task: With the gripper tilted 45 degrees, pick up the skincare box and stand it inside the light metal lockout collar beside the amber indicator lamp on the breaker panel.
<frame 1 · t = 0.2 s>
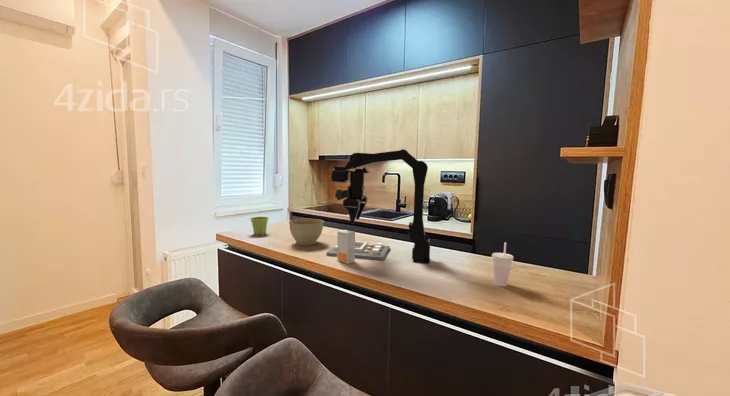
hand: (355, 221, 124), 15 cm above the worktop, tool pointing down, fingers open, 9 cm apart
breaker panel: (359, 251, 131), on the worktop
planter bowl: (306, 243, 144), on the worktop
skincare box: (345, 261, 118), on the worktop
smoothie: (500, 284, 97), on the worktop
plant pot: (259, 234, 162), on the worktop
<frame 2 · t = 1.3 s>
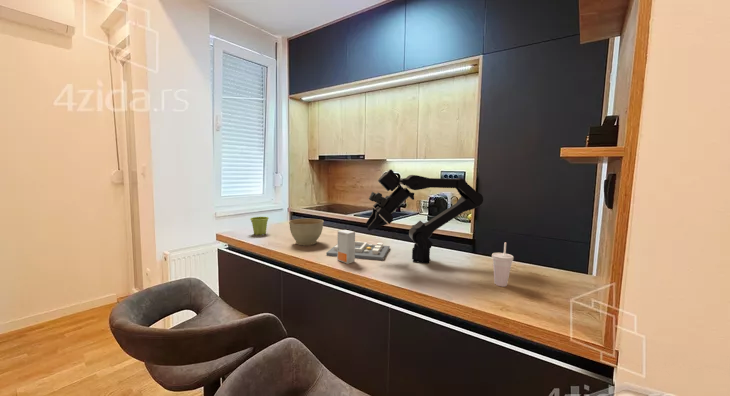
hand: (367, 227, 117), 14 cm above the worktop, tool tilted 45°, fingers open, 9 cm apart
nothing on the worktop moved.
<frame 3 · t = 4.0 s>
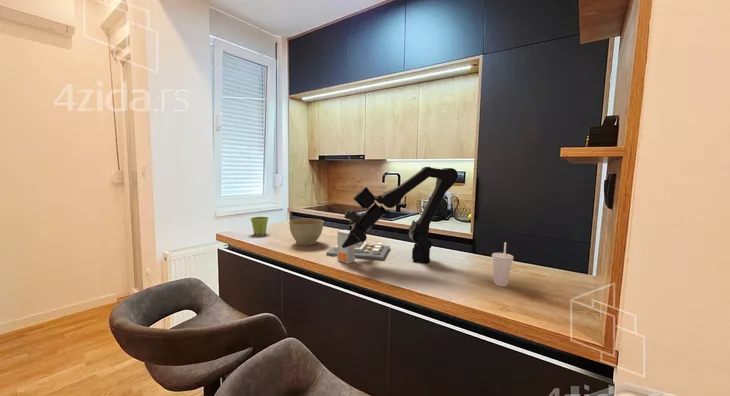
hand: (342, 244, 117), 7 cm above the worktop, tool tilted 45°, fingers closed on skincare box, 7 cm apart
skincare box: (345, 261, 118), on the worktop, touching gripper
everything else where it was.
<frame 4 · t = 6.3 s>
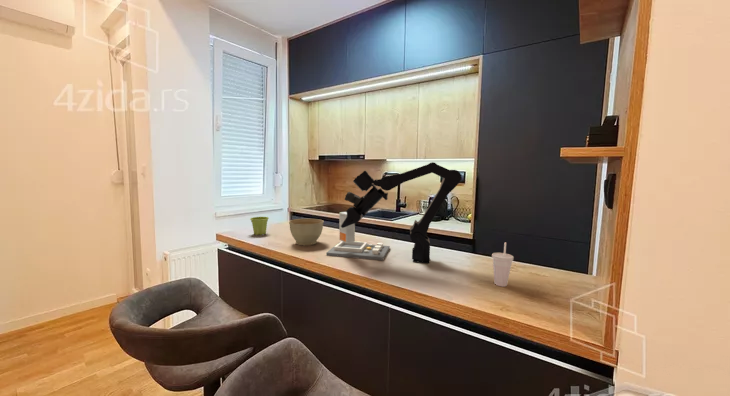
hand: (343, 225, 124), 13 cm above the worktop, tool tilted 45°, fingers closed on skincare box, 7 cm apart
skincare box: (347, 241, 124), point 6 cm above the worktop, touching gripper
everything else where it was.
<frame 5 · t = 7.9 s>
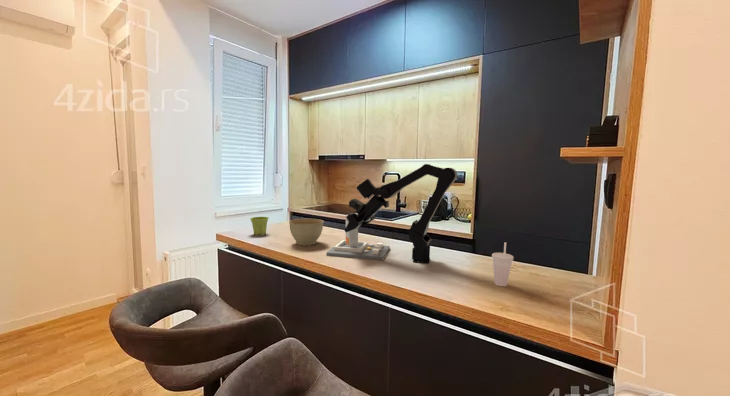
hand: (349, 230, 132), 9 cm above the worktop, tool tilted 45°, fingers closed on skincare box, 7 cm apart
skincare box: (351, 245, 132), point 2 cm above the worktop, touching gripper
everything else where it was.
when the fingers open (9 cm above the worktop, at t = 8.8 s): skincare box drops 1 cm, resting on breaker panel.
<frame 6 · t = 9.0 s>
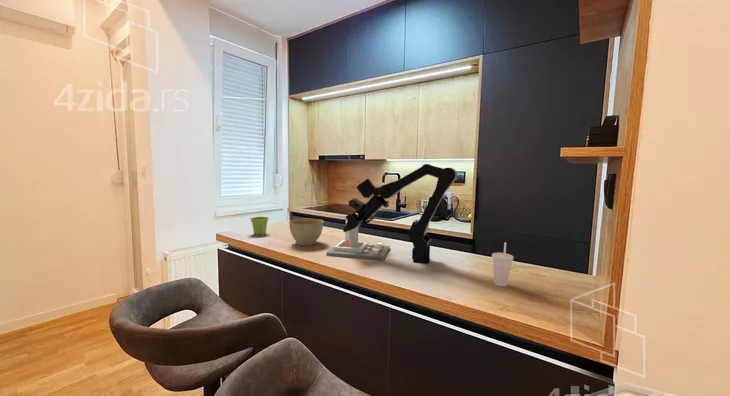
hand: (348, 229, 132), 9 cm above the worktop, tool tilted 45°, fingers open, 9 cm apart
skincare box: (351, 248, 132), point 1 cm above the worktop, touching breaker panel
everything else where it was.
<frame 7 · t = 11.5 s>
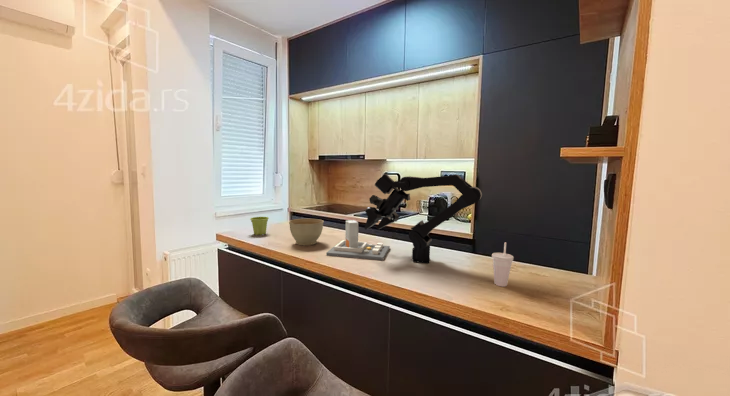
hand: (371, 228, 128), 11 cm above the worktop, tool tilted 35°, fingers open, 9 cm apart
nothing on the worktop moved.
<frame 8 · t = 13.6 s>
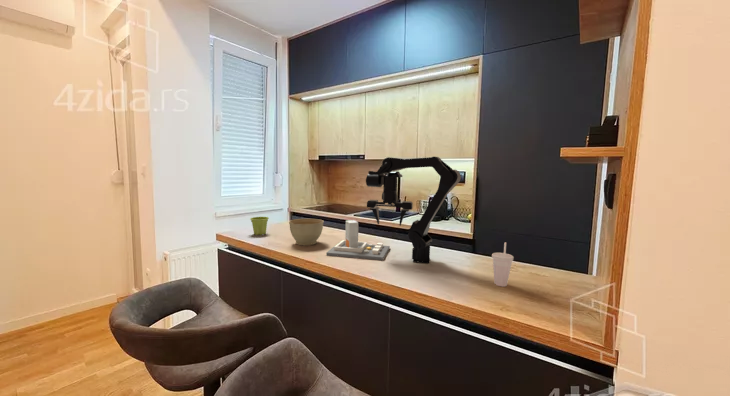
hand: (389, 224, 126), 13 cm above the worktop, tool pointing down, fingers open, 9 cm apart
nothing on the worktop moved.
at the end: skincare box 0.2 cm from the target spot on the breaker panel, point 1.0 cm above the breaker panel's base; skincare box tilted 0°; the gripper is holding nothing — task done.
